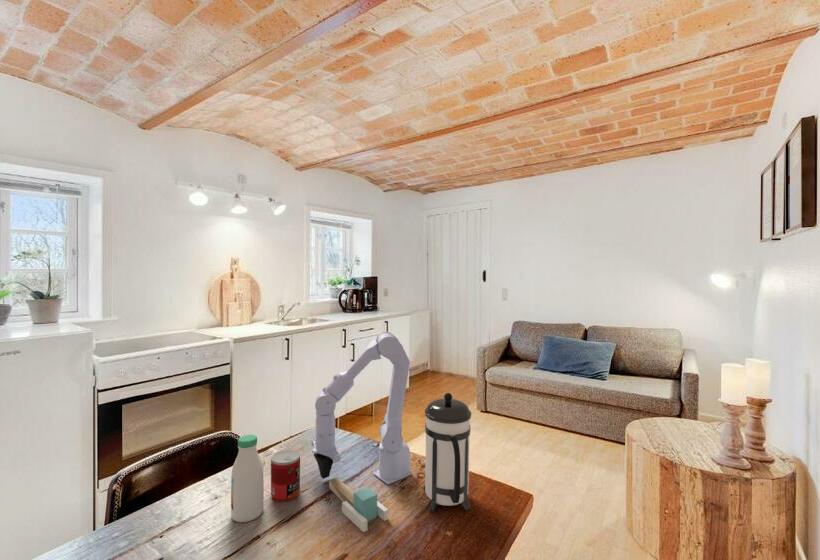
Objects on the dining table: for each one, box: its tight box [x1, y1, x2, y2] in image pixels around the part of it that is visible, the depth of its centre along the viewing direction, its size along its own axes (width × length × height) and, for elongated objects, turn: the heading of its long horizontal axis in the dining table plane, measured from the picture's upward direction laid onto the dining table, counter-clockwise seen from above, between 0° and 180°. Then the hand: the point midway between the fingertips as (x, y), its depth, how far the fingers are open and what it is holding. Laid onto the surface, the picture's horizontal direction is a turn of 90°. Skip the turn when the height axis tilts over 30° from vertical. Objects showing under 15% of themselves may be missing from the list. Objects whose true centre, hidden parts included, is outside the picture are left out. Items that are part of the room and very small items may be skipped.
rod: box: [328, 477, 354, 507], centre depth 107 cm, size 3×14×3 cm, turn 38°
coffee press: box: [423, 392, 472, 513], centre depth 105 cm, size 17×16×30 cm
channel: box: [341, 500, 389, 533], centre depth 99 cm, size 8×10×2 cm
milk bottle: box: [230, 434, 265, 523], centre depth 99 cm, size 8×8×20 cm
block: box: [353, 486, 378, 523], centre depth 99 cm, size 4×4×6 cm
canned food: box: [270, 449, 301, 503], centre depth 108 cm, size 8×8×11 cm
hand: (325, 476), depth 115 cm, fingers closed
